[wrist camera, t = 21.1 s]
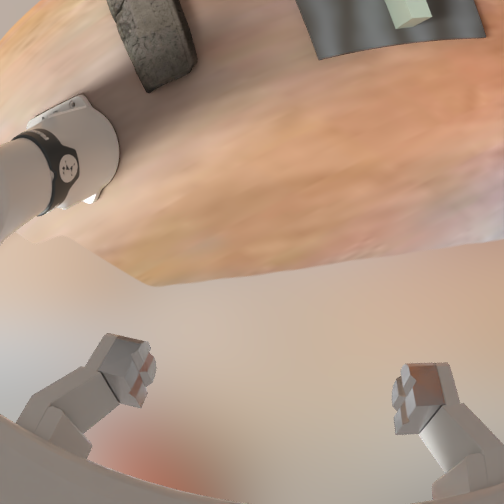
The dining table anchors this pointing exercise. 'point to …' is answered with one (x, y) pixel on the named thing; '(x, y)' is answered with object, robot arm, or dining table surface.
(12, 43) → the dining table surface
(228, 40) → the dining table surface
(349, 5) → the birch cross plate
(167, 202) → the dining table surface
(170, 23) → the stone slab
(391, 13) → the sage slotted plate
